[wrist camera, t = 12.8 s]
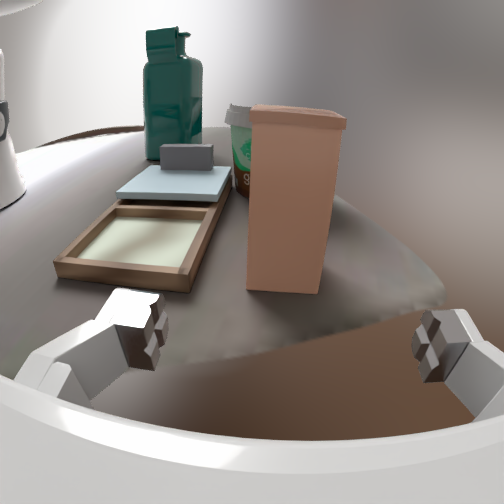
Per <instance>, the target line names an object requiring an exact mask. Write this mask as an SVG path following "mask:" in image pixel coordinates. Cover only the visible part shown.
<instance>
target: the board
mask: <svg viewBox="0 0 504 504" xmlns="http://www.w3.org/2000/svg"><path fill="white" fill-rule="evenodd" d="M231 187H232V175H230V176H229V178H228V180H227V183H226V185H225V187H224V189H223V191H222V193H221V195H220V197H219V199H218V201H217V202H212V201H189V200H159V199H118V200H117V201H116V202H115V203H114V204H113V205H112V206H110V207H109V208H108V209H107V210H106V211H105V212H104V213H103V214H101V215H100V216H99V217H98V218H97V219H96V220H95V221H94V222H93V223H92V224H90V225H89V226H88V227H87V228H86V229H85V230H84V231H83V232H82V233H81V234H80V235H79V236H78V237H77V238H76V239H75V240H74V241H72V242H71V243H70V244H69V245H68V246H67V247H66V248H65V249H64V250H63V251H62V252H61V253H60V254H59V255H58V256H57V257H56V258H55V259H54V260H53V263H54V267H55V270H56V273H57V276H58V277H60V278H67V279H74V280H81V281H89V282H96V283H104V284H112V285H120V286H129V287H137V288H146V289H155V290H165V291H175V292H185V293H190V290H191V288H192V285H193V282H194V280H195V277H196V275H197V272H198V269H199V267H200V264H201V262H202V259H203V256H204V254H205V251H206V249H207V246H208V244H209V241H210V239H211V236H212V234H213V231H214V229H215V226H216V224H217V221H218V219H219V216H220V214H221V211H222V209H223V206H224V204H225V202H226V199H227V197H228V194H229V192H230V190H231Z"/></svg>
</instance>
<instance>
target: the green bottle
mask: <svg viewBox="0 0 504 504" xmlns="http://www.w3.org/2000/svg"><path fill="white" fill-rule="evenodd" d="M190 35H191V34H190V33H188V32H180V31H179V28H178V26H174V27H165V28H158V29H151V30H147V31H146V51H147V57H148V61H149V62H147V63H146V64H145V66H144V69H143V103H144V104H143V107H144V136H145V155H146V158H147V159H149V160H160V146H162V145H163V144H202V75H203V67H202V63H201V62H200V61H199V60H197V59H195V58H192V57H189V56H187V55H186V53H185V38H188V37H190Z"/></svg>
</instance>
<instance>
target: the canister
mask: <svg viewBox="0 0 504 504" xmlns="http://www.w3.org/2000/svg"><path fill="white" fill-rule="evenodd" d="M346 120H347V119H346V118H345V117H343V116H341V115H338V114H336V113H335V112H333V111H329V110H321V109H311V108H301V107H289V106H274V105H255V106H253V107H252V108H251V109H250V113H249V122H252V143H251V169H250V196H249V223H248V251H247V280H246V290H260V291H275V292H290V293H307V294H318V289H319V284H320V278H321V273H322V267H323V262H324V256H325V250H326V244H327V238H328V232H329V226H330V219H331V213H332V206H333V199H334V192H335V185H336V177H337V169H338V161H339V153H340V144H341V135H342V129H343V130H345V129H346Z"/></svg>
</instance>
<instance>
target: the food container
mask: <svg viewBox="0 0 504 504" xmlns="http://www.w3.org/2000/svg"><path fill="white" fill-rule="evenodd" d="M251 108H252V107H242V106H234V105H232V104H230V109H228V110H227V113H226V118H225V123H227V124H229V125H231V136H232V149H233V161H234V174H235V186H236V190H237V192H238V193H240V194H241V195H242V196H244V197H247V198H249V196H250V169H251V143H252V122H249V113H250V109H251Z"/></svg>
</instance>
